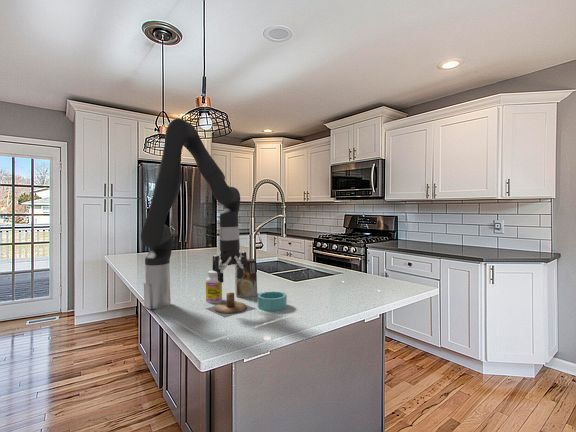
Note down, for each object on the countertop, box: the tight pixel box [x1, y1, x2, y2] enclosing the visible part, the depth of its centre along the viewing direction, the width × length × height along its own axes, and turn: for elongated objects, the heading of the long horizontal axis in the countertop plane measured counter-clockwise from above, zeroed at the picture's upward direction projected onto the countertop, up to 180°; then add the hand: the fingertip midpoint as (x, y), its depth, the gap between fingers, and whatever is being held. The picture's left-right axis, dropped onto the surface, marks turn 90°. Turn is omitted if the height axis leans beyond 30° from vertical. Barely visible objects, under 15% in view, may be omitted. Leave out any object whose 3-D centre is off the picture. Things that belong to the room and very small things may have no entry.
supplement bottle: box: [205, 270, 223, 304], centre depth 137 cm, size 7×7×13 cm
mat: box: [204, 300, 256, 318], centre depth 126 cm, size 14×14×1 cm
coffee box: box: [234, 258, 258, 298], centre depth 146 cm, size 9×6×16 cm
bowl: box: [257, 290, 288, 312], centre depth 128 cm, size 11×11×5 cm
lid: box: [214, 292, 247, 314], centre depth 126 cm, size 12×12×6 cm
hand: (230, 280), depth 126 cm, fingers open, 8 cm apart
